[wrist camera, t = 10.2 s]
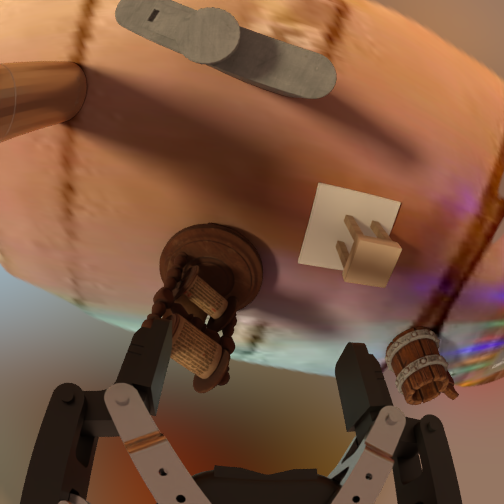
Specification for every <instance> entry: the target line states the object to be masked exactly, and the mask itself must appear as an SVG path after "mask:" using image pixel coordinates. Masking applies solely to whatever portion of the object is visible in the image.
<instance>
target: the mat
mask: <svg viewBox="0 0 504 504" xmlns="http://www.w3.org/2000/svg"><path fill="white" fill-rule="evenodd" d="M400 204H401V203H400V202H398V201H395V200H391V199H387V198H383V197H379V196H376V195H372V194H368V193H364V192H359V191H355V190H351V189H347V188H342V187H338V186H334V185H329V184H324V183H320V182H319V183H318V187H317V191H316V195H315V199H314V203H313V207H312V211H311V214H310V218H309V222H308V226H307V230H306V233H305V237H304V241H303V245H302V248H301V252H300V255H299V259H298V263H300V264H306V265H312V266H318V267H324V268H330V269H337V270H344V268H343V266H342V263H341V260H340V258H339V255H338V252H337V250H336V244H337V241H342V242H344V243H345V245H346V247H347V250H348V252H349V254H350V251H351V248H352V245H353V242H354V240H353V238H352V236H351V234H350V232H349V230H348V229H347V227H346V225H345V223H344V219H345V215H350V216H353V218H354V219H355V221H356V222H357V224H358V226H359V227H360V229H361V231H362V232H363V234H364V235H366V236H370V237H375V238H377V237H376V235H375V234H374V232H373V231H372V229H371V228H370V225H371V222H372V220H373V221H377V222H379V223H380V224H381V226H382V227H383V229H384V230H385V231H386V233H387V234H388V235H390V232H391V229H392V227H393V224H394V221H395V218H396V215H397V213H398V210H399V207H400Z"/></svg>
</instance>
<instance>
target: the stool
mask: <svg viewBox="0 0 504 504" xmlns="http://www.w3.org/2000/svg"><path fill="white" fill-rule="evenodd" d="M344 223H345V225H346V227H347V229H348V230H349V232H350V234H351V236H352V238H353V240H354V242H353V245H352V248H351V251H350V254H349V252H348V250H347V247H346V245H345V243H344V242H342V241H337V244H336V250H337V252H338V255H339V258H340V260H341V263H342V266H343V268H344V270H343V273H342V276H343V278H344V281H345V282H350V283H356V284H363V285H370V286H376V287H383V288H385V287H386V285H387V283H388V280H389V278H390V276H391V274H392V272H393V269H394V267H395V265H396V262H397V260H398V258H399V255H400V253H401V251H402V248H401V246H400V245H399V244H398V242H394V241H392V240H391V238H390V237H389V235H388V234H387V233H386V231H385V230H384V229H383V227H382V226H381V224H380V223H379V222H377V221H373V220H372V222H371V225H370V228H371V229H372V231H373V232H374V234H375V235H376V237H377V238H375V237H370V236H366V235H364V234H363V232H362V231H361V229H360V227H359V226H358V224H357V222H356V221H355V219H354V218H353V216H350V215H345V219H344Z"/></svg>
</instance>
